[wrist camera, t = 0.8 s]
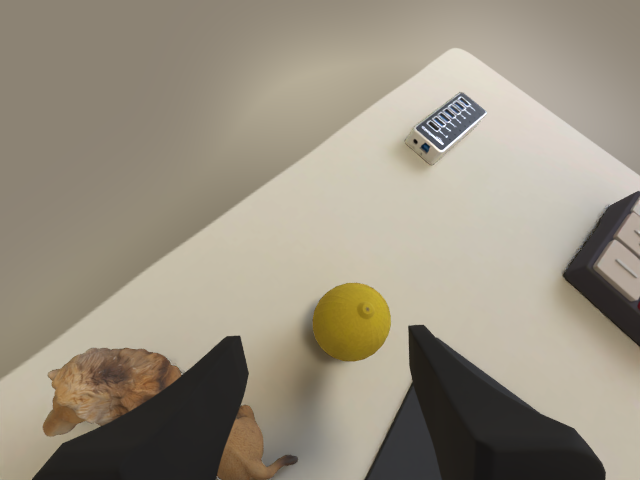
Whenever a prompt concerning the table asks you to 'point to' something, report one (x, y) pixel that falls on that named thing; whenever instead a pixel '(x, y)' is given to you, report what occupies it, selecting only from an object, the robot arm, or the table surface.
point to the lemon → (351, 322)
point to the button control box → (613, 266)
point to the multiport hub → (445, 127)
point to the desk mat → (417, 437)
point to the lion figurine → (136, 388)
